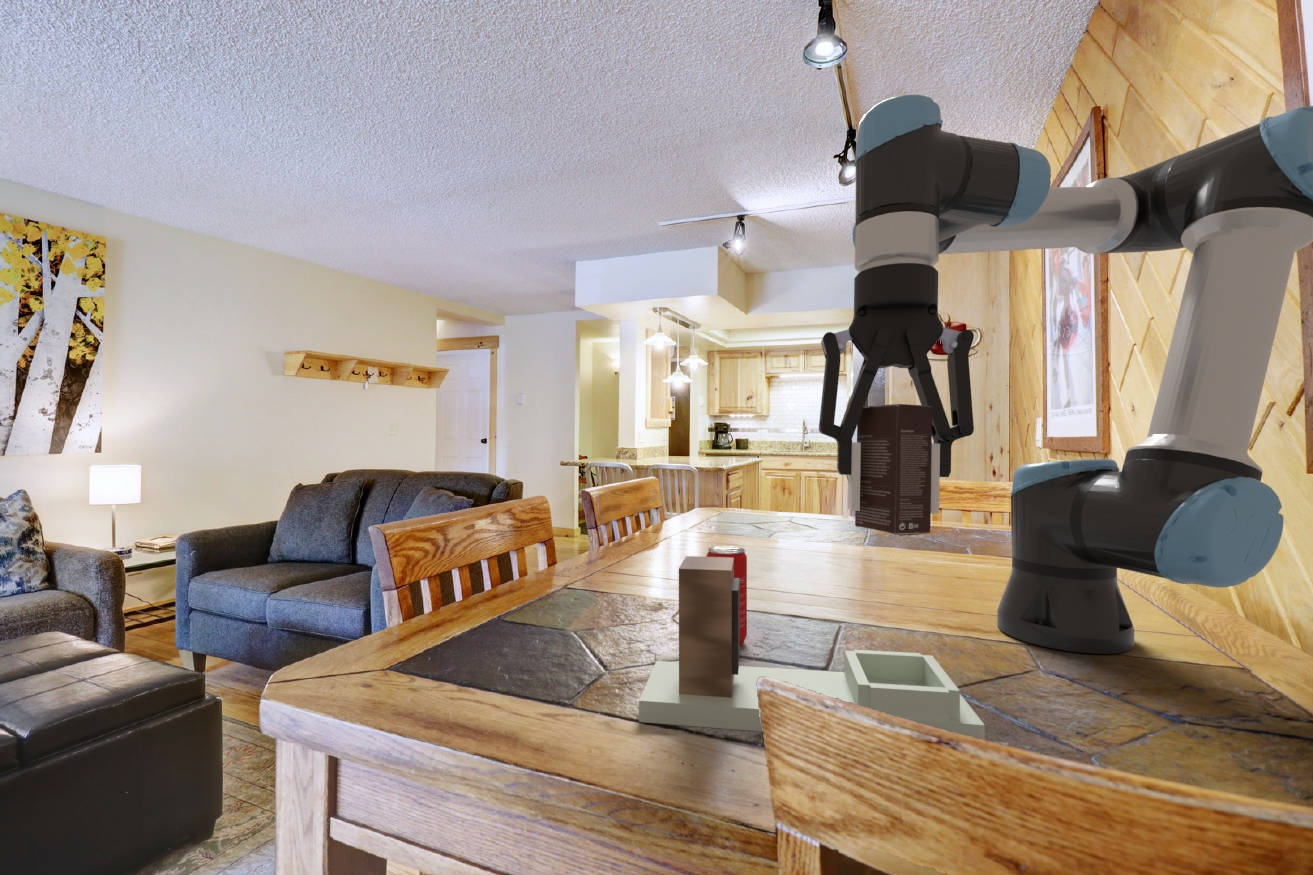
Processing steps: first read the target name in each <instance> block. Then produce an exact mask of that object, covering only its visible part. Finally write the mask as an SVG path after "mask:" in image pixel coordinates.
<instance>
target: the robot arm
mask: <svg viewBox="0 0 1313 875" xmlns="http://www.w3.org/2000/svg"><path fill="white" fill-rule="evenodd" d="M941 115H942V114H941V108H940V105H939V104H938V103H937V102H935V101H934V100H933V99H932V98H931V97H929V96H926V95H922V94H903V95H898V96H895V97H894V96H893V97H890V98H887V99H884V100H881V102H879V103H877V104H875V105H873V106H872V107H871V108H870V110H868V111H866V112H865V114H864V115H863V116H862V118H861V119H860V121H859V124H858V127H857V128H858V130H857V137H856V145H855V146H856V148H855V158H854V165H855V220H854V221H855V222H854V223H853V224H854V225H853V227H852V242H853V247H854V269H855V270H856V271H857V272H858V273H857V275H856V276H855V277H854V279H853V280H854V282H853V283H854V284H853V288H854V289H853V319H852V322H851V324H850V325H849V327H848V328H847V329H845V330H841V331H837V332H835V333H834V332H831V331H829V332H826V333H825V334H823V336H822V339H821V341H820V342H821V344H820V345H821V347H822V351H823V356H824V358H825V361H824V362H825V363H824V373H823V382H822V383H823V384H822V394H821V403H820V411H819V412H820V413H819V422H818V431H819V433H820V434H821V435H824V436H827V437H830V438H832V439H834V440H835V441H836V444H837V453H836V454H837V456H836V457H837V458H836V459H837V460H836V461H837V463H836V465H837V466H836V467H837V468H836V469H837V472H838V474H839V475H841V476H842V475H843V476H845V475H846V476H848V482H847V487H848V488H847V494H848V495H847V508H848V509H849V510H850V511H852V512H853V511H860V459H861V443H860V442H857V441H856V442H855V441H854V442H853V438H854V435H855V432H856V430H857V424H858V421H859V419H860V416H861V413H862V410H863V408H864V407H865V405H866V402H867V399H868V396H869V393H870V391H871V388H872V386H873V383H874V379H875V377H876V375H877V374H878V372H879V369H886V368H891V367H894V368H897V369H907V372H908V374H909V376H910V378H911V379H912V381H913V385H914V387H915V390H916V394H917V396H918V400H919V402H920V405H924V406H932V440H933V443H932V447H931V449H932V453H931V514H938V515H939V514H940V478H949V477H950V476H951V473H952V445H953V443H954V442H955V441H956V440H959V439H962V438H965V437H969V436H972V435H973V434H974V431H975V426H974V412H973V399H972V387H971V374H970V360H969V353H970V351H971V347H972V344H973V341H974V336H975V335H974V332H973V331H972V330H970V329H964V330H962V331H960V330H955V329H952V328H951V329H950V328H947V327H944V324H943V323H942V321H941V319H940V317H939V314H938V313H939V312H938V310H939V271H938V270H937V269H936V268H935V267H934V266H935V265H936V264H937V263H938V262H939V260H940V259H939V258H940V255H951V254H971V253H990V252H1008V251H1010V252H1012V251H1024V250H1026V251H1027V250H1030V251H1031V250H1047V249H1064V248H1065V249H1066V248H1076V249H1077V250H1078V251H1081V252H1082V253H1086V254H1090V255H1099V254H1100V255H1101V254H1122V253H1127V254H1128V253H1129V254H1130V253H1147V252H1148V253H1149V252H1162V251H1163V252H1164V251H1172V250H1179V249H1183V248H1185V249H1186V250H1187V251H1189V252H1190V253H1191V254H1192V257H1191V261H1190V264H1189V270H1188V274H1187V277H1186V281H1185V284H1184V288H1183V293H1182V298H1181V301H1180V304H1179V308H1178V309H1179V310H1178V313H1177V316H1176V321H1175V325H1174V329H1173V333H1172V338H1171V340H1170V345H1169V349H1168V352H1167V356H1166V361H1165V365H1164V369H1163V374H1162V376H1161V381H1160V386H1159V389H1158V393H1157V396H1156V400H1155V405H1154V409H1153V413H1152V416H1151V420H1150V423H1149V429H1148V433H1147V437H1146V438H1145V439H1144V440H1143V441H1141V442H1139V443H1136V445H1133V446H1131V447H1129V448H1128V449H1127V450H1126V452H1125V457H1124V461H1123V465H1122V469H1121V471H1120V467H1119V466H1118V463H1117V461H1115V460H1113V459H1109V458H1108V459H1107V458H1105V459H1104V458H1095V459H1094V458H1092V459H1091V458H1090V459H1074V460H1073V459H1072V460H1063V461H1062V460H1059V461H1058V460H1057V461H1047V462H1046V461H1045V462H1034V463H1027V464H1023V465H1020V466H1019V467H1018V468H1016V469H1015V471H1014V472H1013V476H1012V487H1011V492H1010V514H1011V515H1010V516H1011V517H1010V518H1011V519H1010V521H1011V522H1010V523H1011V573H1010V576H1009V579H1008V581H1007V582H1006V586H1005V590H1004V591H1003V594H1002V596H1001V599H1000V602H999V603H998V604H999V605H998V608H997V613H996V614H997V616H996V617H997V618H996V620H997V623H996V625H997V628H998V629H999V630H1000V631H1001V632H1003V633H1004V634H1006V635H1008V636H1009V637H1012V638H1015V639H1018V640H1019V641H1023V642H1025V643H1029V644H1033V645H1037V646H1039V647H1040V646H1041V647H1044V648H1050V649H1054V650H1060V651H1067V652H1072V653H1082V654H1099V655H1102V654H1103V655H1106V654H1107V655H1110V654H1120V653H1125V652H1129V651H1131V650H1133V649H1134V648H1135V626H1134V625H1133V622H1132V619H1131V617H1130V613H1129V611H1128V608H1127V606H1126V604H1125V601H1124V598H1123V596H1122V592H1121V589H1120V587H1119V585H1118V573H1117V572H1118V569H1120V570H1126V571H1131V572H1135V573H1139V574H1142V575H1143V574H1144V575H1148V576H1154V577H1158V578H1161V579H1162V578H1163V579H1166V580H1169V581H1171V582H1174V583H1176V584H1181V585H1196V586H1197V585H1198V586H1203V587H1210V588H1220V589H1221V588H1229V587H1235V586H1238V585H1241V584H1242V583H1245V582H1247V581H1248V580H1249V579H1250V578H1253V577H1256V575H1258V574H1259V573H1260V572H1262V570H1264V569H1265V567H1266V566H1267V565H1268V564H1269V562H1270V561H1271V559H1272V558H1273V557H1274V555H1275V553H1276V552H1277V549H1278V547H1279V544H1280V542H1281V539H1282V535H1283V531H1284V530H1283V529H1284V521H1285V520H1284V515H1283V514H1282V513H1280V511H1281V509H1283V508H1282V507H1283V506H1282V503H1281V501H1280V497H1279V495H1278V494H1277V493H1276V492H1275V491H1274V489H1273V488H1272V487H1270V486H1269V485H1268V484H1267V483H1264V482H1263V481H1262V477H1263V473H1264V471H1263V469H1262V468H1261V467H1260V466H1259V465H1258V464H1257V462H1256V461H1254V459H1252V457H1250V456H1249V453H1248V452H1249V447H1250V443H1251V439H1252V434H1253V430H1254V426H1255V421H1256V418H1257V413H1258V410H1259V405H1260V401H1261V396H1262V393H1263V388H1264V383H1265V379H1266V375H1267V372H1268V367H1269V363H1270V358H1271V353H1272V350H1273V345H1274V342H1275V338H1276V333H1277V329H1278V325H1279V321H1280V315H1281V312H1282V309H1283V308H1282V307H1283V303H1284V299H1285V295H1286V291H1287V287H1288V283H1289V280H1290V279H1289V278H1290V274H1291V271H1292V270H1291V269H1292V266H1293V261H1294V257H1295V253H1297V252H1299V251H1300V250H1302V249H1304V248H1306V247H1307V246H1309V245H1311V244H1312V243H1313V105H1307V106H1302V107H1298V108H1294V109H1292V110H1289V111H1286V112H1284V113H1280V114H1278V115H1276V116H1268V117H1265V118H1263V119H1261V120H1260V123H1257V124H1255V125H1252V126H1249V127H1247V128H1244V129H1242V130H1239V131H1236V132H1234V133H1232V134H1229V135H1227V136H1225V137H1222V138H1219V139H1216V140H1214V141H1211V142H1209V143H1206V144H1204V145H1202V146H1198V147H1196V148H1193V149H1191V150H1189V151H1186V152H1184V153H1182V154H1179V155H1176V156H1173V157H1170V158H1168V159H1165V160H1164V161H1160V162H1158V163H1156V164H1154V165H1151V166H1149V167H1146V168H1144V169H1141V170H1139V171H1136V172H1134V173H1130V174H1126V175H1123V176H1119V177H1105V178H1100V179H1097V180H1095V181H1093V182H1091V183H1090V184H1088V185H1086V186H1065V187H1064V186H1062V187H1061V186H1059V187H1054V186H1053V187H1051V184H1052V182H1051V178H1052V170H1051V164H1050V162H1049V160H1048V158H1047V156H1046V155H1044V154H1043V153H1042V152H1040V151H1039V150H1038V149H1037V150H1036V149H1033V148H1030V147H1026V146H1021V145H1018V144H1017V143H1015V142H1006V141H999V140H992V139H985V138H978V137H973V136H964V135H958V134H957V133H953V132H948V131H944V130H942V127H943V119H942V116H941ZM939 340H940V342H941V343H942V349H943V352H945V353H946V354H947V359H946V360H947V361H946V362H947V363H946V364H947V366H946V367H947V377H948V379H947V380H948V390H949V402H950V403H949V404H950V406H949V407H950V416H951V417H950V418H951V426H950V423H949V420H948V417H947V414H946V411H945V408H944V404H943V402H942V400H941V396H940V394H939V391H938V387H937V385H936V382H935V380H934V376H933V374H932V366H931V363H930V360H929V358H928V353H929V352H930V351H931V349H933V347H934V346H935V344H937V342H938V341H939ZM850 341H851V344H853V345H854V346H855V348H856V350H857V351H858V353H859V354H860V355H861V356H862V357H863V361H862V364H861V367H860V369H859V373H858V376H857V379H856V382H855V384H854V387H853V390H852V393H851V395H850V399H849V401H848V404H847V407H846V409H845V412H844V415H843V418H842V420H841V422H840V425H836V424H835V416H836V408H837V399H838V387H839V380H840V369H841V355H842V354H843V353H844V352H846V350H847V343H848V342H850Z"/></svg>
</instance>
